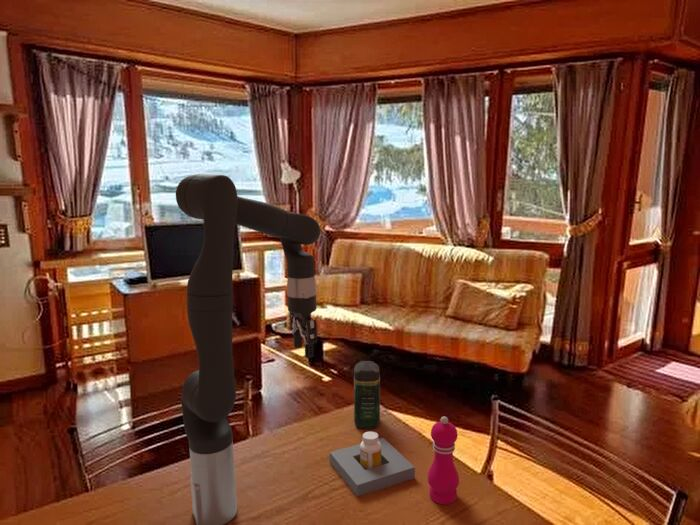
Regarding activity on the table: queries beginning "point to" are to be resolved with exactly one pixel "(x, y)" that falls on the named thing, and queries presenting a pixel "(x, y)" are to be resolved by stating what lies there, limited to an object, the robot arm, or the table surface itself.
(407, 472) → the socket block
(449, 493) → the pepper mill
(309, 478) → the table surface
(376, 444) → the supplement bottle
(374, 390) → the coffee jar
